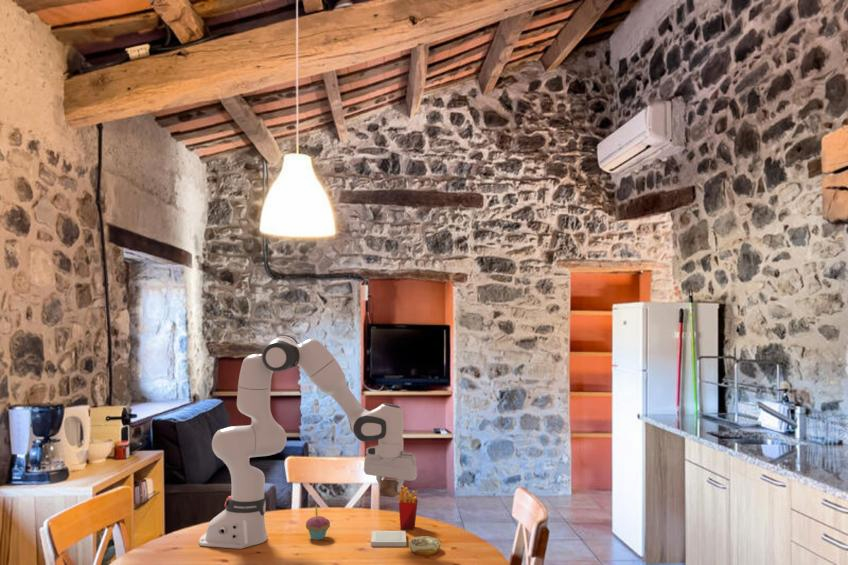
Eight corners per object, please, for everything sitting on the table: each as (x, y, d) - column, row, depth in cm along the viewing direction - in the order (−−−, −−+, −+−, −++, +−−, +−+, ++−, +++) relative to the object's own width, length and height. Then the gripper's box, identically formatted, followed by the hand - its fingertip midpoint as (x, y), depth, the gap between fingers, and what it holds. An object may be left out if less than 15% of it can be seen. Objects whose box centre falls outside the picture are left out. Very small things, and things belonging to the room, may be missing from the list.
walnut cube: (380, 495, 228) (380, 481, 228) (386, 492, 232) (386, 478, 233) (393, 497, 226) (393, 482, 226) (399, 494, 230) (399, 479, 231)
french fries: (417, 525, 246) (418, 485, 247) (415, 532, 238) (416, 490, 239) (394, 524, 247) (395, 484, 248) (391, 531, 239) (392, 489, 240)
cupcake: (324, 542, 225) (325, 506, 226) (301, 540, 227) (302, 504, 228) (332, 534, 233) (333, 500, 234) (310, 532, 235) (311, 498, 236)
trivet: (370, 546, 222) (371, 541, 222) (371, 535, 234) (371, 530, 234) (406, 546, 223) (406, 541, 223) (405, 535, 235) (405, 530, 235)
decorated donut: (409, 557, 213) (409, 545, 214) (408, 545, 224) (408, 534, 224) (441, 556, 214) (441, 544, 214) (438, 545, 225) (438, 534, 225)
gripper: (420, 452, 228) (420, 492, 227) (371, 446, 238) (371, 485, 237) (411, 454, 223) (410, 496, 221) (362, 448, 233) (361, 488, 231)
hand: (389, 490), depth 229 cm, fingers closed on walnut cube, 5 cm apart
